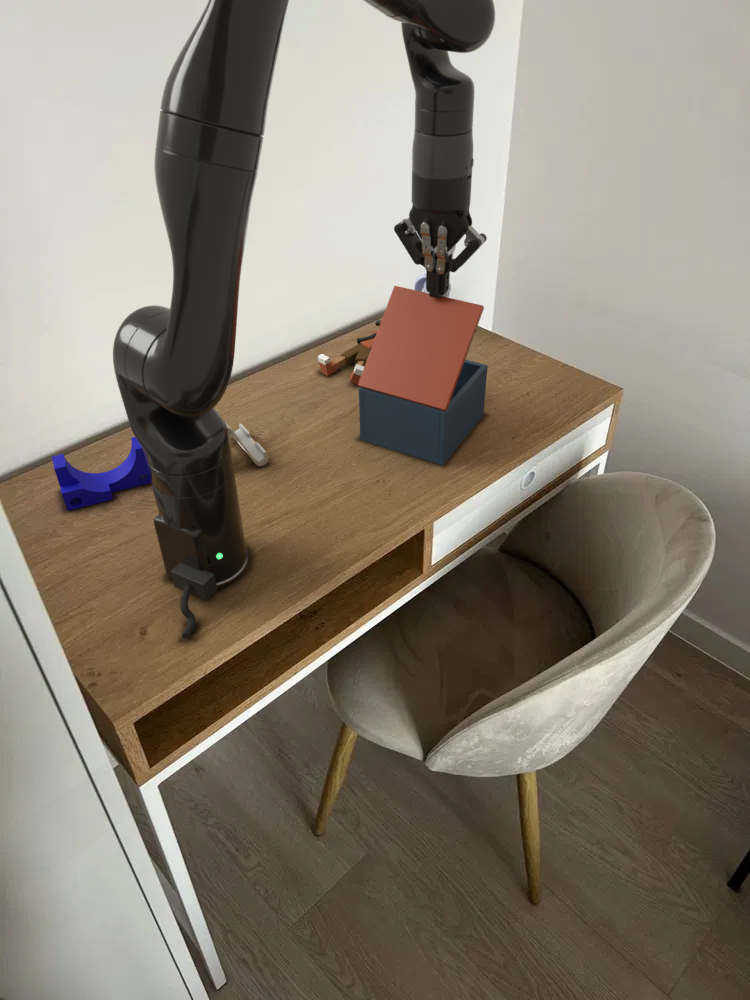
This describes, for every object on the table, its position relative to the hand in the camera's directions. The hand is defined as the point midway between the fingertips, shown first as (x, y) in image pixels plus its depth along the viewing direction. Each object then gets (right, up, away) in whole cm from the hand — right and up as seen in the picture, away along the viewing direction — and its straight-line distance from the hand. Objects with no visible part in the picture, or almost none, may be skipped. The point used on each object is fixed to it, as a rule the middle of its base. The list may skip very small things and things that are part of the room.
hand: (437, 295), depth 112 cm
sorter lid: (-2, -7, +1) cm, 8 cm away
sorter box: (-1, -17, +11) cm, 20 cm away
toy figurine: (+2, +1, +33) cm, 33 cm away
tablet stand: (-29, -22, +5) cm, 37 cm away
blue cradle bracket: (-45, -27, 0) cm, 53 cm away
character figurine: (-9, -4, +27) cm, 29 cm away
